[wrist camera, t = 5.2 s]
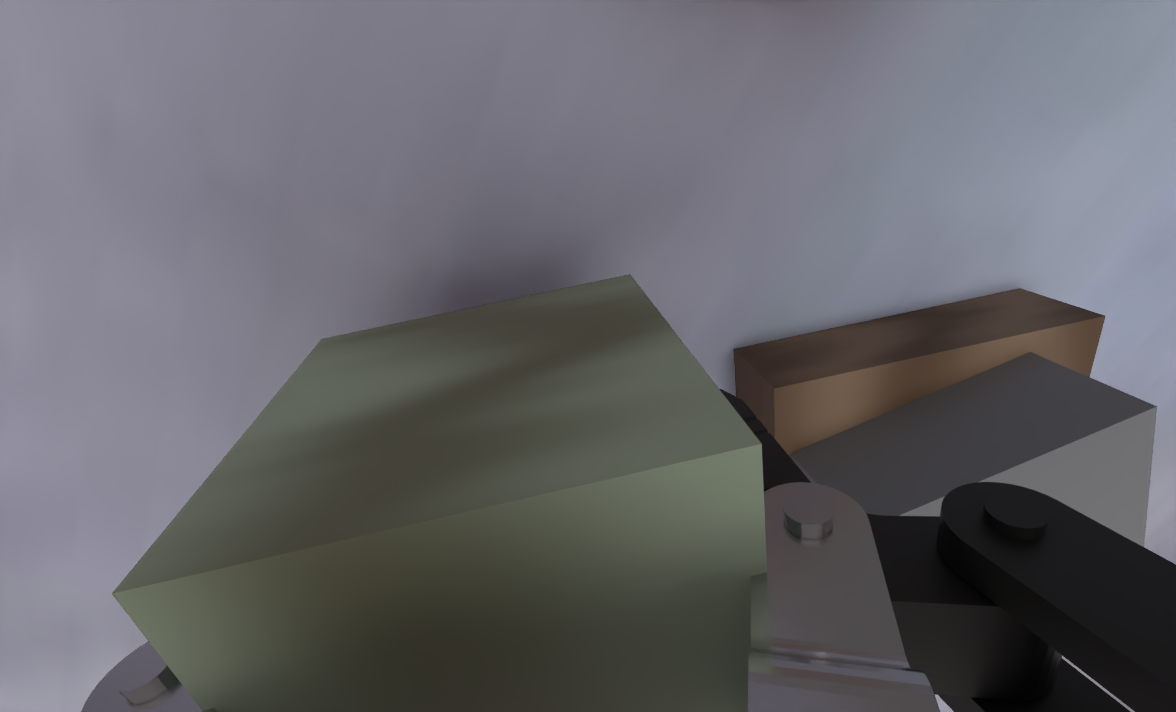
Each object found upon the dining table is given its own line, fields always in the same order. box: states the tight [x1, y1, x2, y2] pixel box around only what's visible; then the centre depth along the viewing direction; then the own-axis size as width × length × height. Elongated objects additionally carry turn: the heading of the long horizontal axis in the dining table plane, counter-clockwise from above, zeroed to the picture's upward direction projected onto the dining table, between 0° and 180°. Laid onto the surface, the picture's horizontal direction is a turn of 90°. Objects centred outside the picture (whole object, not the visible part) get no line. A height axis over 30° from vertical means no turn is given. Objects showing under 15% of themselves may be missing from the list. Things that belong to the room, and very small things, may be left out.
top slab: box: [791, 352, 1157, 547], centre depth 19 cm, size 9×9×4 cm
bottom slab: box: [734, 289, 1105, 459], centre depth 22 cm, size 12×12×4 cm
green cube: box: [112, 274, 767, 712], centre depth 8 cm, size 6×6×6 cm
